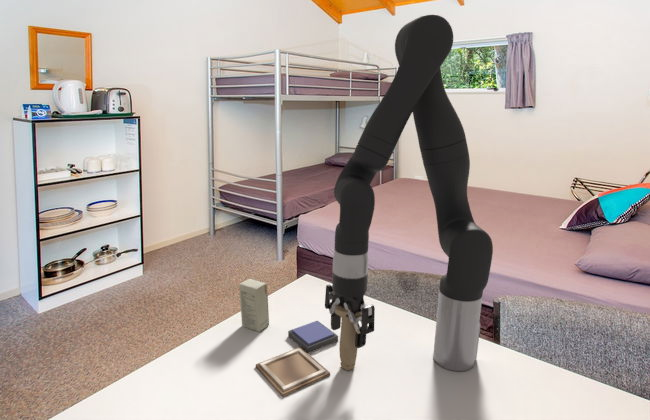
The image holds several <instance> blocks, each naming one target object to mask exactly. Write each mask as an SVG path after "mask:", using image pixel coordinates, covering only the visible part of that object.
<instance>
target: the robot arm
mask: <svg viewBox="0 0 650 420" xmlns="http://www.w3.org/2000/svg"><path fill="white" fill-rule="evenodd" d="M453 43H454V32H453V28H452V25H451V24H450V22H449V21H448V20H447V19H446V18H444V16H442V15H438V14H435V13H432V14H431V13H430V14H424V15H421V16H418V17H416V18H415V19H413V20H410V21H409V22H408V23H406V24H404V25H403V26H402V27H401V28H400V29H399V31H398V32H397V35H396V37H395V42H394V53H395V57H396V60H397V64H398V68H397V70H396V72H395V73H396V74H395V75H394V78H393V80H392V82H391V83H390V86H389V87H388V89H387V91H386V92H385V94H384V95H383V97H382V98H381V99H380V102H379V103H378V105H377V106H376V108H375V109H374V111H373V112H372V114H371V115H370V117H369V119H368V121H367V122H366V125H365V126H364V129H363V130H362V133H361V136H360V138H359V140H358V142H357V145H356V147H355V149H354V151H353V154H352V155H351V157H350V158H349V159H348V161H347V162H346V163H345V165H344V167H343V168H342V169H341V172H340V173H339V175H338V177H337V180H336V182H335V184H334V190H333V194H334V195H333V196H334V199H335V200H336V202H337V203H338V204H339V222H338V223H337V224H336V227H335V230H334V231H335V232H334V234H335V235H334V251H333V257H332V275H331V278H332V281H331V283H329V284H327V285H325V296H324V299H325V300H324V308H325V309H326V310H327V309H328V310H329V312H328V313H329V314H330V330H331V331H332V330H333V331H336V330H339V329H341V322H342V319H341V317H340V316H339V315H337V314H336V313H335V305H337V306H339V305H340V306H342V307H343V308H345V310H346V311H347V313H348V316H349V318H350V321H351V323H353V324H354V327H355V329H356V334H355V347H357V349H361V348H364V346H366V342H367V335H368V334H371V333H373V332H374V331H375V309H376V308H375V305H374V304H370V305H368V304H366V303H365V299H364V297H365V294H367V290H368V283H369V282H368V279H369V263H370V262H369V238H370V227H371V225H372V220H373V217H374V212H375V204H376V197H375V192H374V188H373V187H372V185H371V183H372V181H373V180H374V178H375V177H376V175H377V173H378V172H381V171H383V170H385V168H386V167H387V165H388V163H389V161H390V159H391V157H392V155H393V153H394V151H395V149H396V146H397V144H398V142H399V140H400V138H401V135H402V133H403V131H404V129H405V127H406V125H407V124H408V121H409V120H410V117H411V116H413V121H414V126H415V131H416V135H417V140H418V145H419V146H418V147H419V150H420V155H421V160H422V164H423V167H424V171H425V174H426V179H427V183H428V186H429V189H430V192H431V196H432V199H433V203H434V208H435V209H434V210H435V214H436V216H435V217H436V224H437V232H438V233H437V234H438V241H439V245H440V248H441V250H442V252H443V253H444V255H446V256H447V257H448V262H447V268H446V269H447V270H446V274H444V275H442V277H441V278H440V280H439V286H438V287H439V289H438V299H437V311H436V324H435V335H434V345H433V360H434V361H435V362H436V363H437V364H438V365H440V366H441V367H442V368H444V369H447V370H450V371H453V372H454V371H455V372H466V371H468V370H469V371H470V370H471V369H472V368H473V367H474V366H475V361H476V360H477V358H478V351H479V350H478V349H479V343H480V342H479V341H480V332H481V322H480V320H481V319H480V317H481V311H482V304H483V303H482V301H483V294H484V293H483V292H484V290H485V289H486V286H488V285H487V284H488V282H489V278H490V273H491V272H490V271H491V267H492V261H493V253H494V246H493V240H492V238H491V236H490V235H489V233H487V232H486V231H485V230H484V229H483V228H482V227H481V226H478V225H477V224H476V222H475V220H474V217H473V214H472V210H471V207H470V203H469V202H470V201H469V196H468V184H469V177H470V171H471V170H470V168H471V162H470V153H469V147H468V143H467V137H466V133H465V129H464V126H463V124H462V122H461V120H460V117H459V116H458V113H457V111H456V109H455V107H454V106H453V104H452V102H451V100H450V98H449V96H448V94H447V92H446V90H445V86H444V82H443V76H442V75H443V74H442V70H441V67H442V65H443V64H444V62H445V61H446V59H447V58H448V56H449V54H450V52H451V50H452V48H453V45H454V44H453ZM330 301H331V302H330ZM360 311H362V312H361V315H362V316H361V317H358V318H355V317H354V314H356V313H357V312H360ZM359 322H360V323H361V326H360V324H359Z"/></svg>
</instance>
